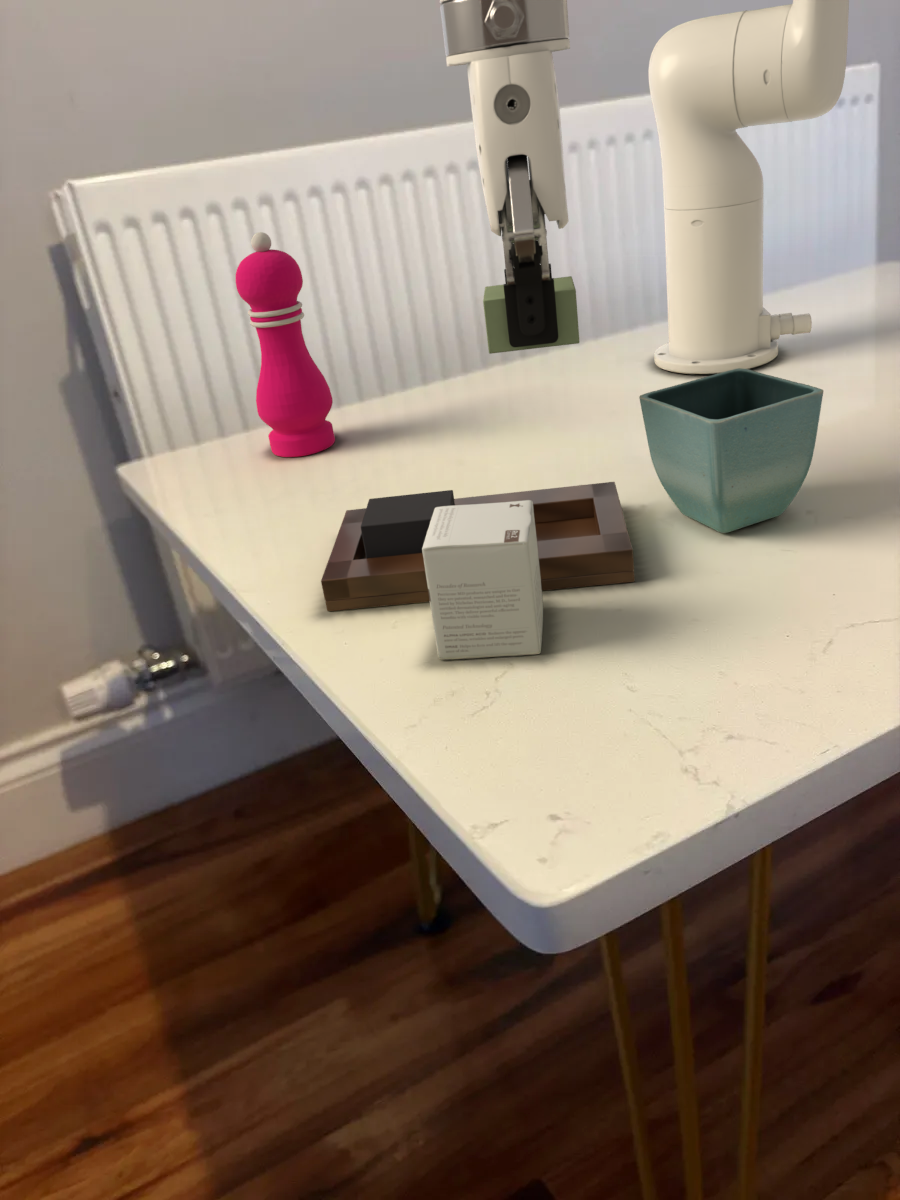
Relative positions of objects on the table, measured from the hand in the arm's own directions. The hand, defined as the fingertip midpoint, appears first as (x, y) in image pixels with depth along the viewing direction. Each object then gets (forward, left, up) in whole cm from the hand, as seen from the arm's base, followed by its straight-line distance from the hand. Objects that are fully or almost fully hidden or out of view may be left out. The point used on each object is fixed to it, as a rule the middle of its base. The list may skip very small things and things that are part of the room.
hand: (533, 331), depth 70 cm
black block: (+10, +5, -13) cm, 17 cm away
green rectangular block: (0, 0, -1) cm, 1 cm away
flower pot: (-12, +3, -14) cm, 19 cm away
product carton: (+4, +16, -14) cm, 22 cm away
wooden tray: (+5, +6, -14) cm, 16 cm away
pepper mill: (+23, -24, -14) cm, 36 cm away
